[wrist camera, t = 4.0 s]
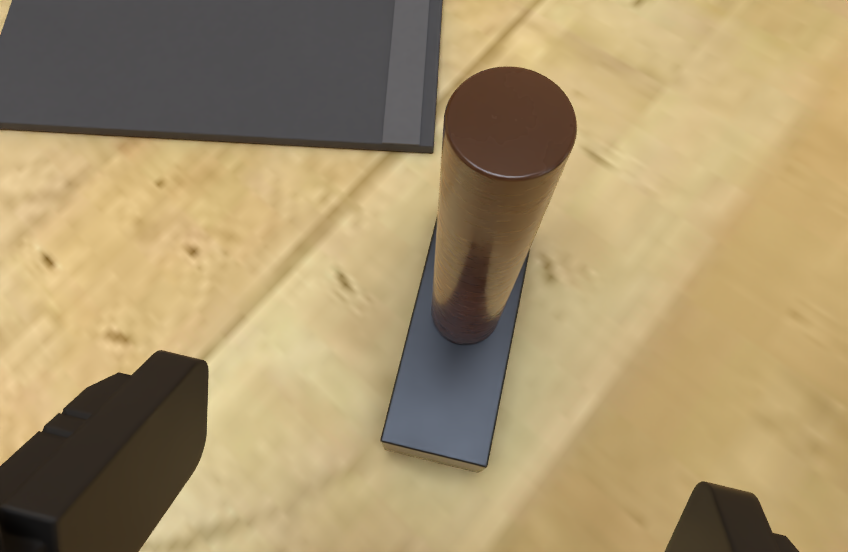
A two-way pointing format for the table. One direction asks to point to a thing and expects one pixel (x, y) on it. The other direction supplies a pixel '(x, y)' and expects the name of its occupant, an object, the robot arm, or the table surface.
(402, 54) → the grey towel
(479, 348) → the hammer
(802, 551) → the table surface
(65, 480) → the robot arm
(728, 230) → the table surface
